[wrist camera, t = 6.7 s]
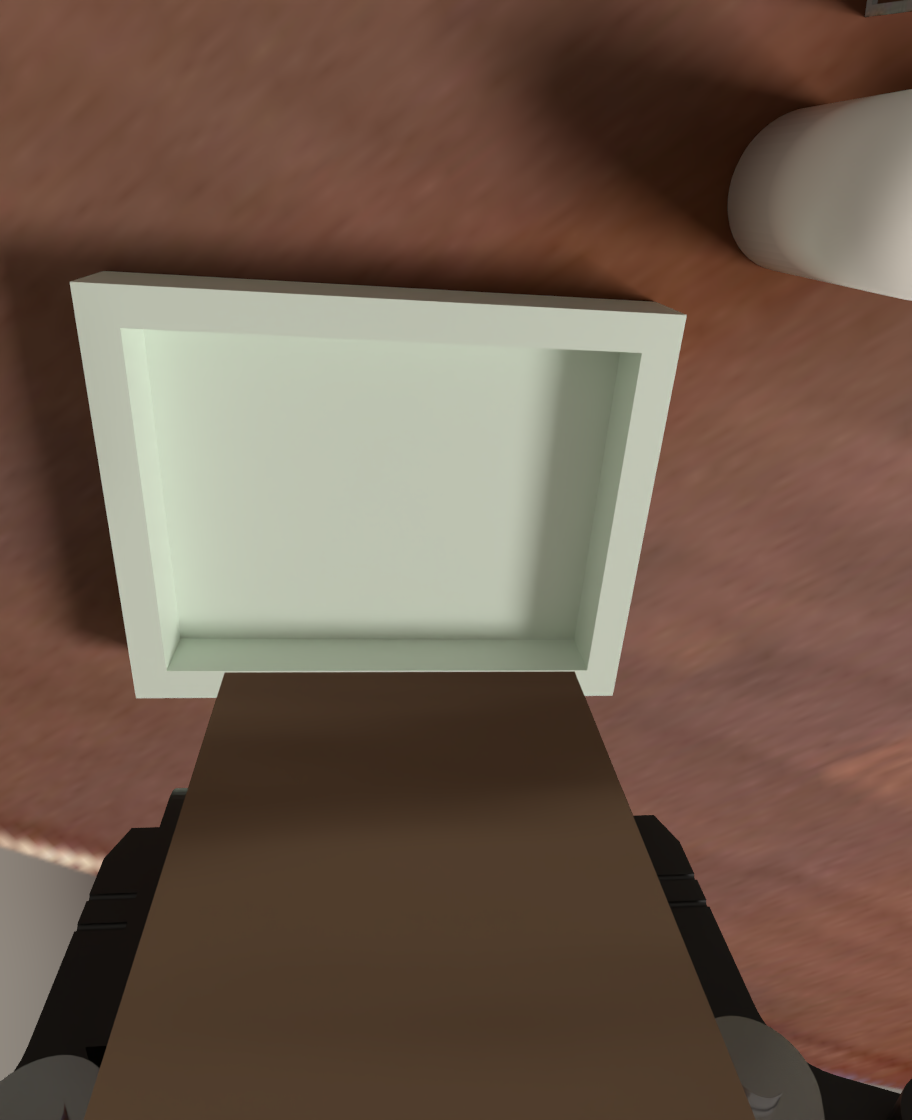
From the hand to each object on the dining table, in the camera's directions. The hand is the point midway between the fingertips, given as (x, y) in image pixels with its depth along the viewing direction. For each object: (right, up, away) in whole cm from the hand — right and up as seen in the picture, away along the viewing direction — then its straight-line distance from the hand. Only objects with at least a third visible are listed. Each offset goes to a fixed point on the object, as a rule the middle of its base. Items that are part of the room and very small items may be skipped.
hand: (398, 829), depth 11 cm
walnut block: (0, 0, +1) cm, 1 cm away
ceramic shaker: (+10, +14, +9) cm, 20 cm away
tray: (-1, +6, +12) cm, 13 cm away
